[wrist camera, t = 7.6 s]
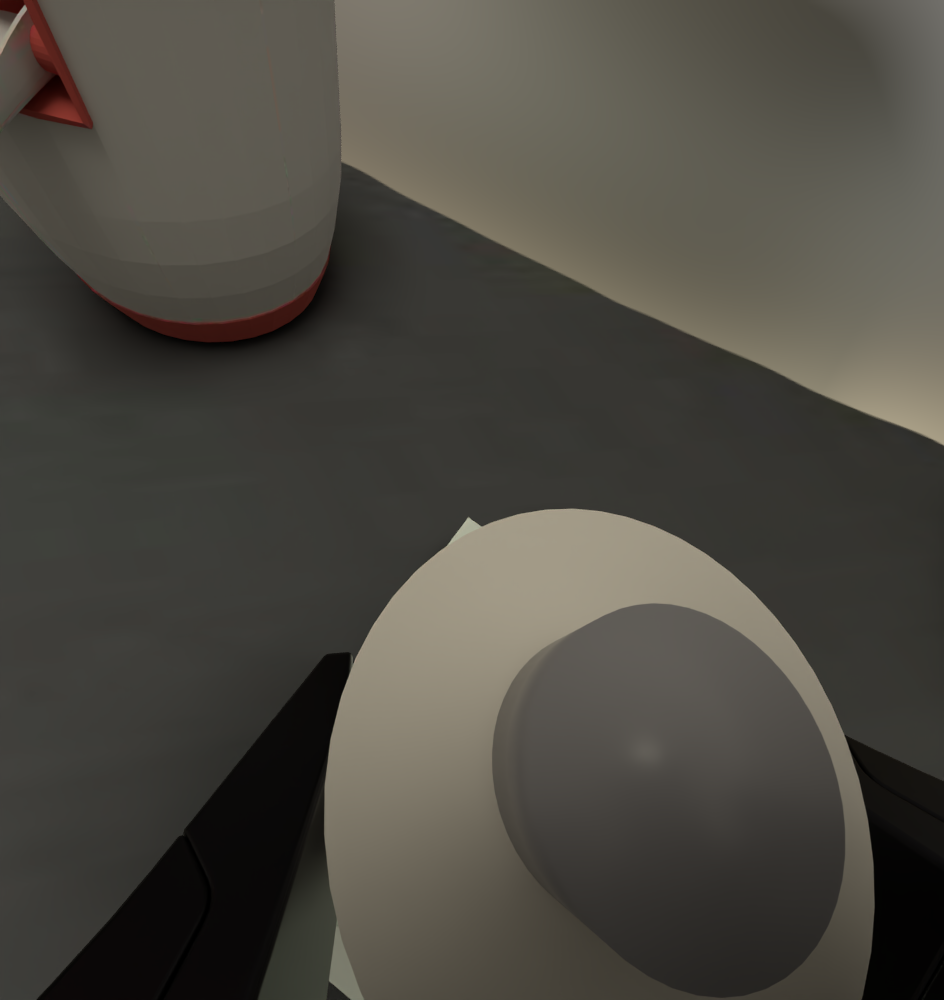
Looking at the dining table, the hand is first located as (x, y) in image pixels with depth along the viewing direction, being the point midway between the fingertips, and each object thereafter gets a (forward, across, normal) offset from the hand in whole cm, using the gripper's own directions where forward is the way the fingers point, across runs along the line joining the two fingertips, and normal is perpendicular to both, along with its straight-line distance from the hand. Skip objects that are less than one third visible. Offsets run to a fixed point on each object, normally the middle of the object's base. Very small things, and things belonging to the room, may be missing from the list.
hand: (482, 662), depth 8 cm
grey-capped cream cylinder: (+4, 0, +6) cm, 7 cm away
